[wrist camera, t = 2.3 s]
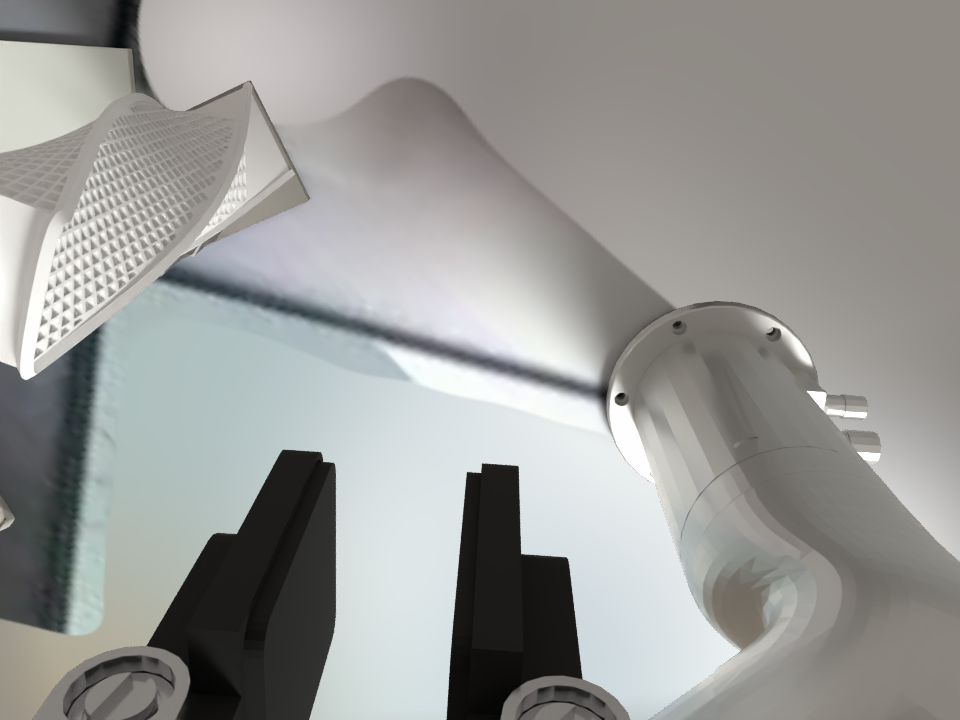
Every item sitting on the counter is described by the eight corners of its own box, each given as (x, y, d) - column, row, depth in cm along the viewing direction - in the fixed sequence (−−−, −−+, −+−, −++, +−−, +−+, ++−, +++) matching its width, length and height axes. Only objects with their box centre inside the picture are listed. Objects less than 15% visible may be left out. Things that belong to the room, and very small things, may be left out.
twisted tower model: (127, 107, 46) (-363, 205, 20) (255, 45, 45) (-93, 64, 19) (204, 245, 49) (-140, 489, 23) (327, 191, 48) (110, 384, 21)
